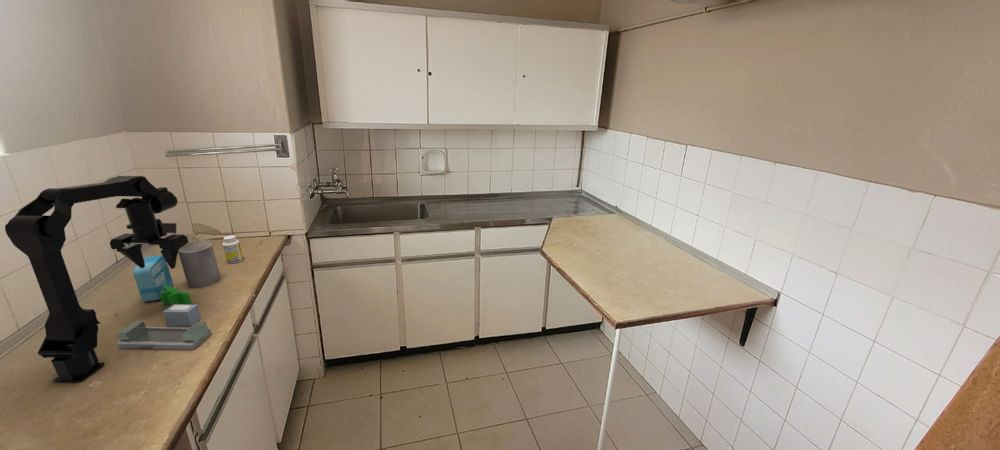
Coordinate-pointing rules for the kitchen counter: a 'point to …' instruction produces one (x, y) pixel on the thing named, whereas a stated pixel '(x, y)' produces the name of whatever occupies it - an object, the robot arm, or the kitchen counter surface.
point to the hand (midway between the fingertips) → (158, 267)
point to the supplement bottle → (232, 249)
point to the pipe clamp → (174, 296)
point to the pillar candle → (199, 264)
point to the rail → (162, 336)
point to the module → (182, 315)
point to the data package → (152, 278)
